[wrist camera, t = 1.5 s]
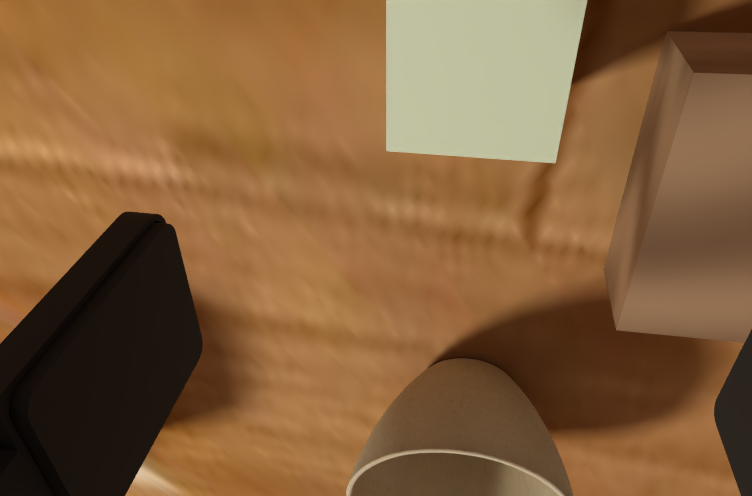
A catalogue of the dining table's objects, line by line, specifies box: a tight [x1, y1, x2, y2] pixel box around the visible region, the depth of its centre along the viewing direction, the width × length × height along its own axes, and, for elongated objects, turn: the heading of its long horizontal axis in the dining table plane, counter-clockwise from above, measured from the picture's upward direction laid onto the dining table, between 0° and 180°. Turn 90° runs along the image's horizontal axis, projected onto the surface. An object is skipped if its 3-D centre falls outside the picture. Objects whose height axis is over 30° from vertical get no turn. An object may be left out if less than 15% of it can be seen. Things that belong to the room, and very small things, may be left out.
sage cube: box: [386, 0, 587, 163], centre depth 18 cm, size 5×5×5 cm
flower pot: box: [346, 358, 573, 496], centre depth 29 cm, size 10×10×7 cm
